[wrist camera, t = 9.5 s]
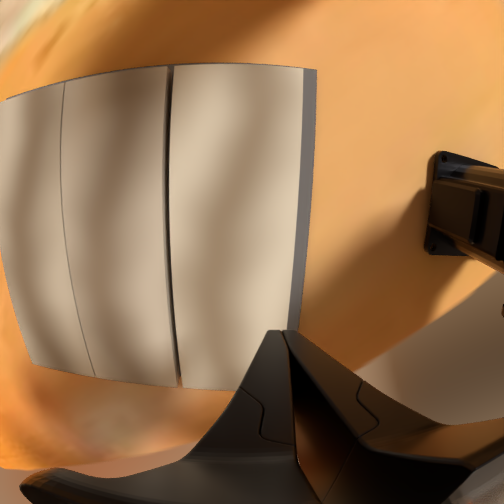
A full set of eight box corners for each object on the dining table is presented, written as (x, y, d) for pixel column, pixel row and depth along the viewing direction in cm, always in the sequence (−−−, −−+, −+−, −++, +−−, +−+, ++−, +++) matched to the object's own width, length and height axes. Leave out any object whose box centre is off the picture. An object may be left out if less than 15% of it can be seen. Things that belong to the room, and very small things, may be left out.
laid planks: (172, 72, 13) (167, 66, 12) (179, 375, 18) (177, 387, 17) (7, 105, 12) (-5, 103, 11) (39, 355, 17) (32, 363, 16)
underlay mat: (315, 71, 13) (316, 69, 13) (290, 374, 19) (291, 376, 19) (9, 99, 12) (6, 98, 12) (40, 352, 18) (38, 354, 17)
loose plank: (299, 75, 13) (303, 68, 12) (277, 379, 18) (278, 391, 17) (179, 72, 13) (174, 66, 12) (185, 376, 18) (182, 387, 17)
